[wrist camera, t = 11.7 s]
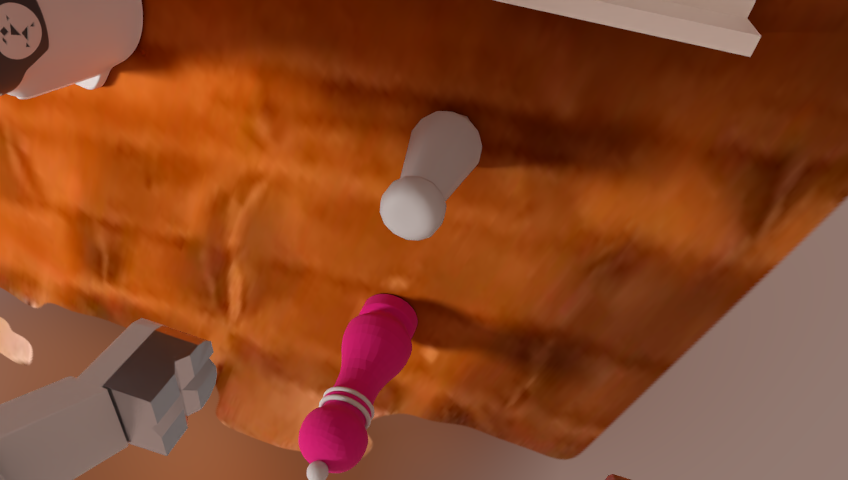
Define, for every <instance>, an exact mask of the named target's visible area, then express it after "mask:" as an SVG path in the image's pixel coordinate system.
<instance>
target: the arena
mask: <svg viewBox="0 0 848 480" xmlns="http://www.w3.org/2000/svg"><path fill="white" fill-rule="evenodd" d="M494 1H499V2H503V3H508V4H512V5H517V6H521V7H526V8H530V9H535V10H539V11H544V12H548V13H553V14H558V15H562V16H567V17H571V18H576V19H580V20H585V21H589V22H594V23H598V24H603V25H607V26H612V27H616V28H621V29H626V30H630V31H635V32H639V33H644V34H648V35H653V36H657V37H662V38H666V39H671V40H675V41H680V42H684V43H689V44H693V45H698V46H703V47H707V48H712V49H716V50H721V51H725V52H730V53H734V54H739V55H743V56H748V57H751V55H752V53H753V51H754V49H755V48H756V46H757V44H758V42H759V40H760V38H761V35H760V34H759V32H758V31H757V30H756V29H755V27H754V26H753V25H752V24H751V22H750V21H749V20H748V16H749V14H750V12H751V10H752V8H753V6H754V4H755V2H756V0H494Z"/></svg>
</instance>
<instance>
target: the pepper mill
mask: <svg viewBox="0 0 848 480" xmlns="http://www.w3.org/2000/svg"><path fill="white" fill-rule="evenodd" d="M417 324H418V319H417V315H416V313H415V311H414V309H413V308H412V307H411V306H410V305H409V304H408V303H407V302H406V301H404V300H403V299H401V298H399V297H397V296H394V295H390V294H377V295H374V296H372V297H370V298H369V299H368V300H367V301H366V302H365V304H364V306H363V308H362V310H361V312H360V314H359V316H357V317H355V318H354V319H352V320H351V322H350V323H349V324H348V326H347V328H346V330H345V333H344V335H343V340H342V366H341V371H340V374H339V376H338V379H337V381H336V383H335V385H334V386H333V387H332V388H330V389H328V390H326V392H325V393H324V395H323V398H322V399H321V401H320V403H319V408H316V409H314V410H313V411H312V412H310V413H309V414H308V415H307V417H306V418H305V420H304V421H303V423H302V426H301V428H300V431H299V447H300V450H301V453H302V455H303V456H304V458H305V459H306V460H307V461H308V463H309V464H310V465H309V466H308V469H307V477H308V479H309V480H325V479H326V478H327V476H328V473H341V472H345V471H347V470H350V469H351V468H352V467H354V466H355V465H356V464H357V463H358V462H359V461H360V460H361V458H362V456H363V455H364V453H365V451H366V448H367V444H368V436H367V431H366V429H367V428H368V427H369V426H370V423H371V420H372V418H373V417H374V407H373V403H374V400H375V398H376V397H377V395H378V393H379V391H380V390H381V389H382V388H383V387H384V386H385V385H386V384H387V383H388V382H389V381H390V380H391V379H392V378H394V377H395V376H396V375H397V374H398V373H399V372H400V371H401V370H402V368H403V367H404V366H405V365H406V363H407V361H408V359H409V357H410V355H411V351H412V343H411V339H412V337H413V335H414V332H415V330H416V327H417Z"/></svg>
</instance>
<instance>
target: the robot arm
mask: <svg viewBox="0 0 848 480" xmlns="http://www.w3.org/2000/svg"><path fill="white" fill-rule="evenodd" d="M142 27H143V9H142V1H141V0H0V96H2V95H4V94H9V95H12V96H16V97H17V98H18V99H29V98H33V97H36V96H39V95H42V94H45V93H48V92H51V91H54V90H57V89H60V88H63V87H66V86H69V85H72V84H77V85H79V86H81V87H83V88H86V89H89V90H92V89H96V88H99V87H101V86H103V84H104V83H105V81H106V80H107V77H108V75H109V72H110V70H111V69H112V68H113V67H114V66H116V65H118V64H119V63H121V62H123V61H125V60H126V59H127V58H128V57H130V55H131V54H132V53H133V52H134V50H135V49H136V47H137V45H138V43H139V40H140V37H141V33H142ZM212 353H213V348H212V344H211V341H208V340H205V339H202V338H199V337H196V336H193V335H190V334H187V333H184V332H181V331H178V330H175V329H172V328H169V327H167V326H165V325H161V324H158V323H155V322H152V321H149V320H146V319H143V318H141V319H139V320H137V321H135V322H133V323H132V324H131V325H130V326H129V327H128V328H127V329H126V330H125V331H124V332H123V333H122V334H120V335H119V336H118V338H117V339H115V340H114V341H113V342H112V343H111V344H110V345H109V346H108V347H107V348H106V349H105V350H104V351H103V352H102V353H101V354H100V355H99V356H98V357H97V358H96V359H95V360H94V361H93V362H92V363H91V364H90V365H89V366H88V367H87V368H86V369H85V370H84V371H83V372H82V373H81V374H80V375H79V376H78V377H77V378H75V377H72V376H69V377H66V378H64V379H61V380H59V381H57V382H55V383H52V384H49V385H47V386H45V387H42V388H40V389H37V390H35V391H32V392H30V393H27V394H25V395H22V396H20V397H18V398H15V399H13V400H10V401H8V402H5V403H3V404H1V405H0V480H73V479H75V478H77V477H78V476H80V475H81V474H83V473H85V472H86V471H88V470H89V469H91V468H93V467H95V466H96V465H98V464H99V463H101V462H103V461H104V460H106V459H108V458H109V457H111V456H113V455H114V454H116V453H117V452H119V451H121V450H122V449H124V448H126V447H127V446H128V443H129V444H132V445H136V446H138V447H141V448H144V449H147V450H150V451H153V452H156V453H160V454H162V455H165V456H167V455H168V454H169V453H170V451H171V450H172V448H173V447H174V446H175V444H176V443H177V442H178V440H179V439H180V438H181V436H182V435H183V434H184V432H185V431H186V429H187V428H188V416H189V415H191V414H193V413H195V412H197V411H199V410H201V409H202V407H203V406H204V404H205V403H206V402H207V400H208V399H209V397H210V395H211V393H212V390H213V388H214V386H215V383H216V376H217V372H216V366H215V365H214V363H213V362H212V361H211V360H210V359H209V357H210V356H211V355H212ZM605 480H630V479H627V478H623V477H621V476H617V475H614V474H611V475H608V477H607V478H606V479H605Z"/></svg>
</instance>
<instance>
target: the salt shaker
mask: <svg viewBox="0 0 848 480" xmlns="http://www.w3.org/2000/svg"><path fill="white" fill-rule="evenodd" d="M481 151H482V143H481V139H480V136H479V132H478V130H477V129H476V128H475V127H474V125H473V124H472V123H471V122H470V120H469V118H468V116H464V115H460V114H457V113H455V112H449V111H436V112H434V113H432V114H430V115H428V116H426V117H424V118H422V119H421V120H420V121H419V123H418V124H417V125H416V126H415V128H414V129H413V130H412V133H411V137H410V141H409V145H408V149H407V153H406V157H405V161H404V165H403V169H402V173H401V177H400V179H398V180H396V181H393V183H392V184H391V185H390V186H389V188H388V189H387V190H386V191H385V193H384V194H383V195H382V199H381V205H380V214H381V217H382V219H383V222H384V224H385V225H386V226H387V227H388V228H389V229H390V230H391V231H392V232H393V233H394V234H396V235H398V236H400V237H402V238H404V239H406V240H418V241H419V240H422V239H426V238H429V237H431V236H432V235H433V234H434V232H435V231H436V230H437V229H438V228H439V227H440V226H441V224H442V222H443V220H444V216H445V211H446V203H445V201H446V200H447V199H448V198H449V197H450V196H451V194H452V193H453V192H454V191H455V190H456V189H457V187H458V186H459V185H460V184H461V183H462V182H463V180H464V179H465V178H466V177H467V176H468V175H469V174H470V172H471V171H472V170H473V169H474V168H475V167H476V166H477V165H478V163H479V159H480V155H481Z"/></svg>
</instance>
